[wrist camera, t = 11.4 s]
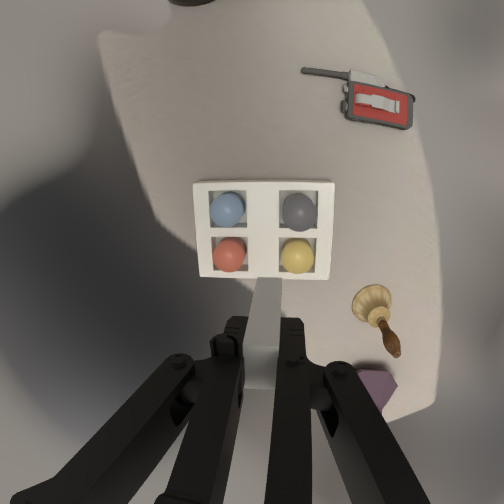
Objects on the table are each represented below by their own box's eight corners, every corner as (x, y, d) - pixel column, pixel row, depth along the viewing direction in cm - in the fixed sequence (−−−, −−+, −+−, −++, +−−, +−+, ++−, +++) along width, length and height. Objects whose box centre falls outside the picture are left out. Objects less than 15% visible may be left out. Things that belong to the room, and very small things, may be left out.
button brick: (217, 235, 49) (211, 242, 45) (246, 235, 48) (242, 243, 44) (218, 262, 50) (213, 272, 47) (247, 263, 50) (243, 272, 46)
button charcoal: (282, 193, 43) (282, 197, 39) (314, 193, 42) (317, 197, 39) (282, 224, 45) (282, 231, 41) (313, 225, 44) (316, 232, 40)
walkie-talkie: (411, 87, 37) (301, 66, 39) (422, 82, 33) (302, 58, 35) (410, 133, 40) (298, 114, 42) (421, 132, 36) (300, 110, 38)
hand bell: (393, 282, 50) (425, 329, 35) (388, 319, 53) (413, 370, 38) (353, 285, 51) (374, 336, 36) (350, 322, 54) (366, 377, 39)
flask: (361, 409, 62) (373, 470, 44) (313, 391, 61) (317, 460, 42) (405, 369, 57) (430, 432, 38) (359, 346, 55) (379, 418, 37)
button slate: (214, 191, 46) (208, 195, 42) (245, 191, 45) (241, 194, 42) (216, 221, 48) (210, 227, 44) (245, 221, 47) (242, 227, 43)
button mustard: (282, 236, 47) (282, 243, 44) (312, 236, 47) (314, 244, 43) (281, 264, 49) (281, 273, 45) (310, 264, 48) (312, 274, 45)
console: (199, 180, 47) (192, 183, 44) (330, 180, 45) (334, 183, 41) (205, 267, 53) (199, 276, 49) (325, 270, 50) (328, 279, 47)
